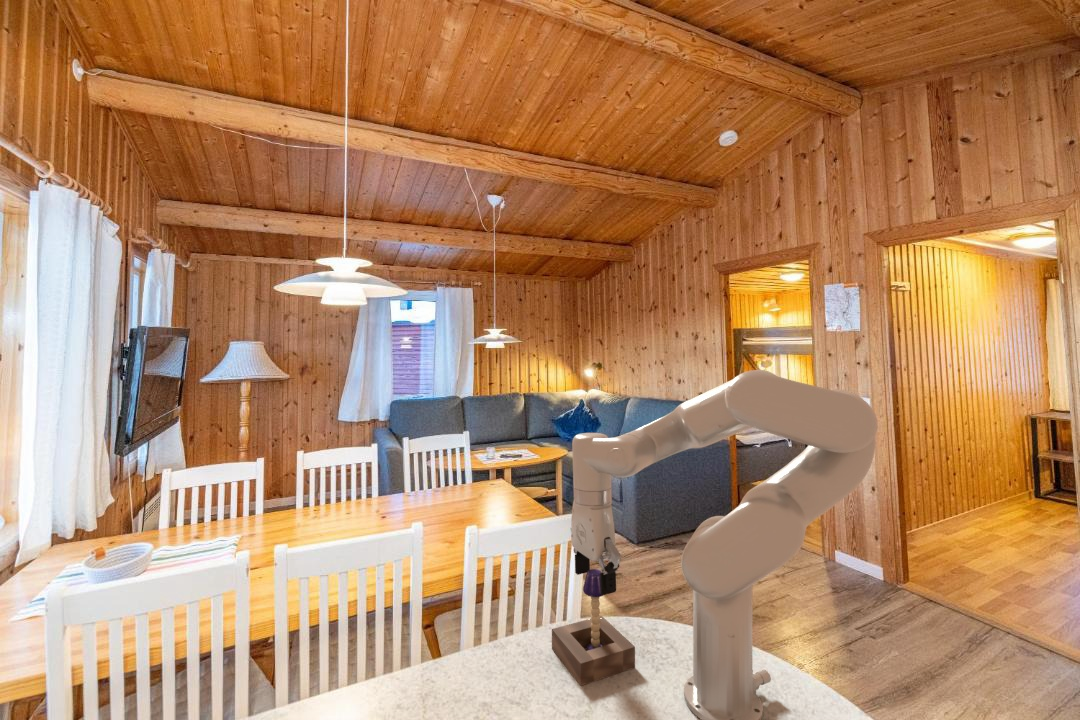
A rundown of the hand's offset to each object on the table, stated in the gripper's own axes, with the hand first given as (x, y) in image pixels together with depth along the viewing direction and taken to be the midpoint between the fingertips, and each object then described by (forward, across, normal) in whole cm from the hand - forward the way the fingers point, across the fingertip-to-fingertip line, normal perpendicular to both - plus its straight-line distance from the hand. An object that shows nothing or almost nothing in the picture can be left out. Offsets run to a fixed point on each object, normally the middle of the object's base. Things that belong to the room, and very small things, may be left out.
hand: (594, 582), depth 92 cm
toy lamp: (+15, -1, 0) cm, 15 cm away
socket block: (+15, -1, -1) cm, 15 cm away
